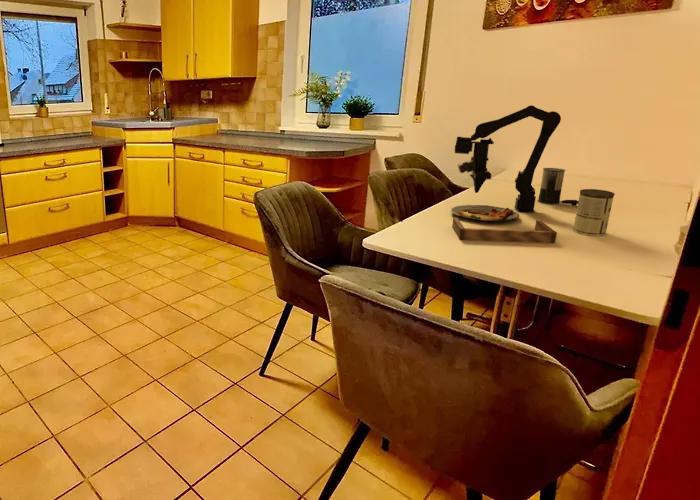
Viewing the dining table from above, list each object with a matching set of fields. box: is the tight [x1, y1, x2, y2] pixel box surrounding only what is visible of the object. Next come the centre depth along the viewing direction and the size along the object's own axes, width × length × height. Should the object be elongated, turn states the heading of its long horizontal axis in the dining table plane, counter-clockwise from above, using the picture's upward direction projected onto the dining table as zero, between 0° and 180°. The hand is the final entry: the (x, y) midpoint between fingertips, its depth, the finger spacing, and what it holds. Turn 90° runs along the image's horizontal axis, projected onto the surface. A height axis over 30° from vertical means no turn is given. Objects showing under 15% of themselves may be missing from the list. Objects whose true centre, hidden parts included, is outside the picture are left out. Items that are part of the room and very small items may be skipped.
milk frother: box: [537, 167, 579, 207], centre depth 193 cm, size 14×16×15 cm
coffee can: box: [572, 188, 615, 237], centre depth 152 cm, size 10×10×14 cm
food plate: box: [450, 204, 520, 222], centre depth 171 cm, size 25×23×4 cm
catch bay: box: [451, 217, 558, 244], centre depth 148 cm, size 30×14×4 cm, turn 87°
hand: (476, 192), depth 187 cm, fingers closed
